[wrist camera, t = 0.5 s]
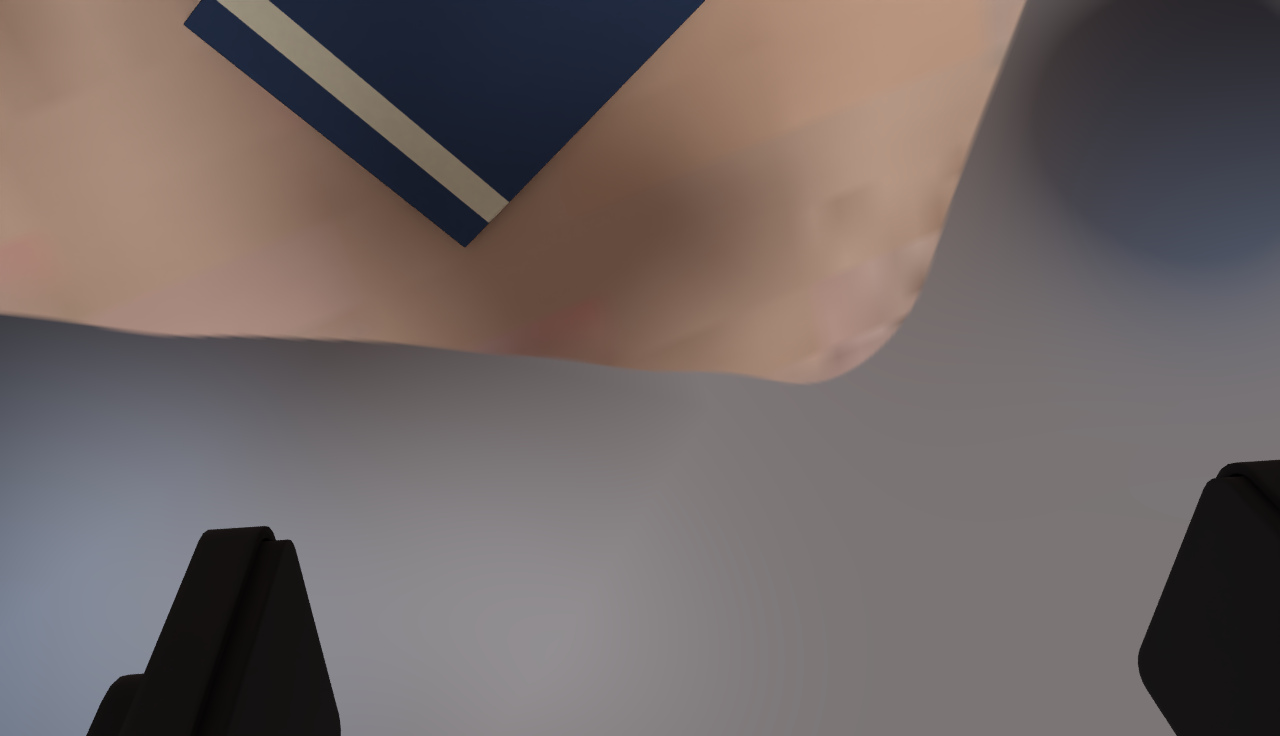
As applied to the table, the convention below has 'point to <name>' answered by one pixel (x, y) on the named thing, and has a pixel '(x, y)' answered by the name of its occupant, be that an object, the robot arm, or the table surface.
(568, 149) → the table surface
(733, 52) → the table surface
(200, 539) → the robot arm
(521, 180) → the cloth
